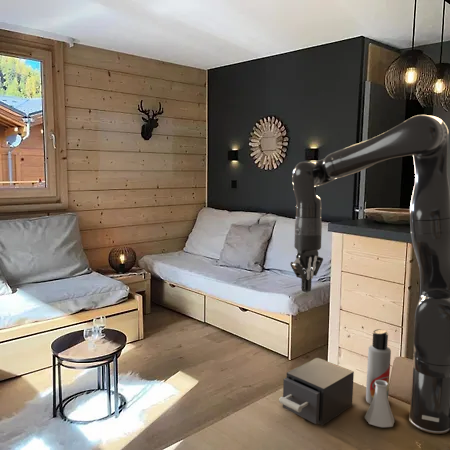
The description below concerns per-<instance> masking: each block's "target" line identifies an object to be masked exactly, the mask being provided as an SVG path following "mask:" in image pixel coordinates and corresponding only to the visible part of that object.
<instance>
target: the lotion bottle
mask: <svg viewBox="0 0 450 450" xmlns="http://www.w3.org/2000/svg"><path fill="white" fill-rule="evenodd" d="M388 342H389V333H388V331H387V330H385V329H380V328H379V329H374V330H373V332H372V344H371V345H369V346H368V349H367V367H366V368H367V369H366V384H365V385H366V387H365V401H366V403H367V404H369V405H370V404H371V402H372V400H373V397H374V394H375V389H376V385H375V381H376V380H383V381H386V382H387V383H388V386H387V398H388V399H389V393H390V392H389V391H390V390H389V389H390V376H391V375H390V373H391V359H392V350H391V348H390V347H389V346H388V344H389V343H388Z"/></svg>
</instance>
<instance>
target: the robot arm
mask: <svg viewBox="0 0 450 450" xmlns="http://www.w3.org/2000/svg"><path fill="white" fill-rule="evenodd" d="M448 154H449V129H448V126H447V124H446V123H445V122H444V121H443V120H442V119H441V118H439V117H437V116H434V115H427V114H417V115H414V116H412V117H410V118H408V119H406V120H404V121H403V122H401V123H399V124H398V125H396V126H394V127H392V128H390V129H389V130H387V131H385V132H383V133H381V134H379V135H377V136H374V137H372V138H369V139H367V140H364V141H361V142H359V143H355V144H352V145H350V146H347V147H344V148H341V149H338V150H336V151H333V152H331V153H328V154H327V155H326V156H325V158H322V159H319V160H316V161H315V160H314V161H300V162H298V163H297V164H296V165H295V166H294V168H293V170H292V175H291V176H292V177H291V182H292V188H293V192H294V197H295V201H296V206H295V207H296V208H295V222H294V245H293V247H294V249H296V254H295V260H294V261H291V262H290V267H291V269H292V270H293V272H294V274H295V276H296V278H299V279H301V289H300V290H301V291H302V292H303V293H309V292H311V291H312V280H313V279H314V277H316V276H317V275H318V273H319V270H320V268H321V266H322V264H323V261H324V258H323V257H321V256H319V251H320V250H321V249H322V233H323V232H322V231H323V229H322V228H323V223H322V206H323V204H322V198H321V197H320V196H318V195H317V194H316V189H315V188H316V187H320V186H323V185H326V184H328V183H330V182H333V181H334V180H336V179H340V178H344V177H347V176H350V175H353V174H356V173H359V172H361V171H365V170H366V169H368V168H370V167H373V166H374V165H376V164H380V163H382V162H384V161H387V160H392V159H396V158H402V157H407V156H412V157H413V165H414V174H415V175H414V177H415V178H414V186H413V190H412V195H411V200H410V206H409V225H410V226H409V227H410V237H411V243H412V247H413V250H414V255H415V258H416V261H417V265H418V268H419V269H418V270H419V299H418V303H417V305H416V308H415V313H414V326H413V327H414V328H413V360H412V375H411V376H412V377H411V388H410V389H411V391H410V404H409V407H410V408H409V416H408V420H409V422H410V424H411V425H412V426H413V427H414V428H416V429H418V430H420V431H422V432H424V433H428V434H433V435H444V434H447V433H449V432H450V184H449V176H448V157H449V155H448Z"/></svg>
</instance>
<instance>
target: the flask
mask: <svg viewBox="0 0 450 450" xmlns="http://www.w3.org/2000/svg"><path fill="white" fill-rule="evenodd" d="M375 385H376V389H375V394H374V397H373V400H372V402H371V404H369V407H368V408H367V411H366V413H365V415H364V419H365V421H366V422H368V424H369V425H372V426H373V427H374V426H375V427H378V428H393V427H394V423H395V417H394V415H393V412H392V409H391V406H390V402H389V397H388V398H387V386H388V383H387V382H386V381H383V380H376V381H375Z"/></svg>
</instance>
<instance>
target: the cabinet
mask: <svg viewBox="0 0 450 450" xmlns="http://www.w3.org/2000/svg"><path fill="white" fill-rule="evenodd" d="M354 376H355V371H354V370H352V369H348V368H345V367H343V366H340V365H338V364H335V363H332V362H330V361H327V360H325V359H322V358H320V357H315V358H313V359H312V360H310V361H307V362H305V363H304V364H301V365H299V366H297V367H295V368H293V369H291V370H288V371H286V378H288V379H290V380H292V378H294V379H296V380H298V381H300V382H303V383H305V384H307V385H309V386H312V387H314V388H316V389H318V390H321V408H320V418H319V422H318V423H317V424H319V425H321V426H324V425H325V424H327V423H328V422H330V421H331V420H333V419H335V418H336V417H338V416H339V415H341V414H342V413H343V412H345V411H346V410H348V409H349V408H351V407H352V406H353V398H354V397H353V396H354Z"/></svg>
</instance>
